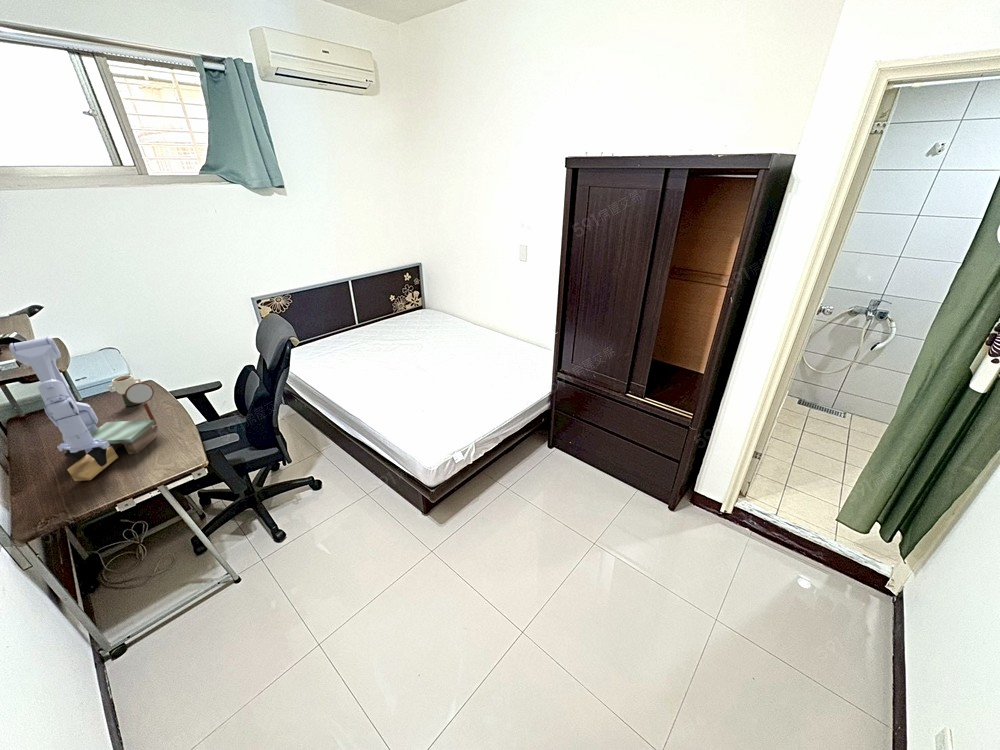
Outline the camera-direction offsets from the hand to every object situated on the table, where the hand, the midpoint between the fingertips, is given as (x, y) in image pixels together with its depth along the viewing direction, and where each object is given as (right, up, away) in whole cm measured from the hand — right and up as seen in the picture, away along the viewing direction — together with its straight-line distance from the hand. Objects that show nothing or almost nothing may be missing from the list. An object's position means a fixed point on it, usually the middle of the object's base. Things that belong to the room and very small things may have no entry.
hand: (95, 465), depth 138 cm
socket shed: (-1, +4, +13) cm, 14 cm away
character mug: (-25, +18, +42) cm, 52 cm away
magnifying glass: (-1, +10, +26) cm, 28 cm away
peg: (0, -1, +1) cm, 2 cm away
